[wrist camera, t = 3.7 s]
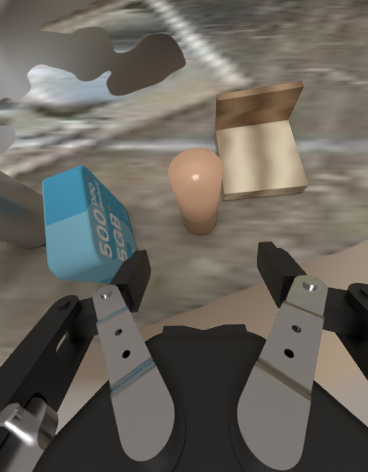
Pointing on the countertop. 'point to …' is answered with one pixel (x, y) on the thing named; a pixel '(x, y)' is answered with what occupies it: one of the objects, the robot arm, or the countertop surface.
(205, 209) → the peach dome-topped cylinder
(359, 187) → the countertop surface
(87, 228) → the data package
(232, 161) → the wooden l-shaped stand
